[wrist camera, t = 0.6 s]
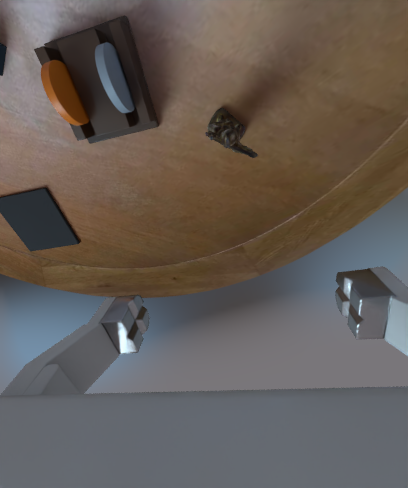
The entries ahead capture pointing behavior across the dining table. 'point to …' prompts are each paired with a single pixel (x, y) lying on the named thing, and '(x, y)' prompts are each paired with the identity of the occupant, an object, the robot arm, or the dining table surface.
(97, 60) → the grey disc
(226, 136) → the figurine
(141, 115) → the rack
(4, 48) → the watch
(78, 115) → the orange disc
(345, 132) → the dining table surface
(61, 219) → the mat
